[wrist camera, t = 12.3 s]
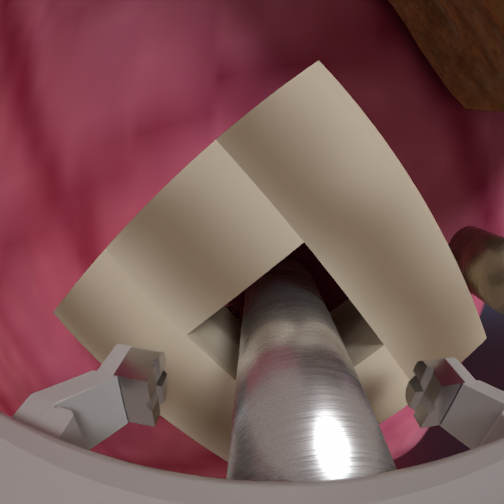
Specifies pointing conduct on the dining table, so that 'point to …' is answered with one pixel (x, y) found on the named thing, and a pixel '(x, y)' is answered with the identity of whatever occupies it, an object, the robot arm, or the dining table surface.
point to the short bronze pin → (481, 264)
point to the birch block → (279, 257)
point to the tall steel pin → (298, 390)
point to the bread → (461, 46)
